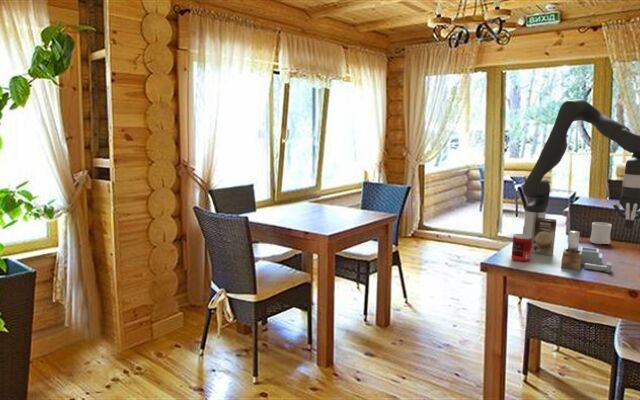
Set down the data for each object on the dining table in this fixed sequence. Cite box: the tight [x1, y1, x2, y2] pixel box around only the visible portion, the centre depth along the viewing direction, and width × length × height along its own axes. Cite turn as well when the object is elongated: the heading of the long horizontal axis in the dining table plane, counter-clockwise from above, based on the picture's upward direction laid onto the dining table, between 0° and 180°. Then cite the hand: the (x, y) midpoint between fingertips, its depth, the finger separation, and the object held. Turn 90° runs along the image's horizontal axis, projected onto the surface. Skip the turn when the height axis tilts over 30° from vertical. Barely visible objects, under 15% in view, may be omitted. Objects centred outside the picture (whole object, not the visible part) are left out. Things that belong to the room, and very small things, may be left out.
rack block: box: [579, 246, 603, 266], centre depth 214 cm, size 10×8×6 cm
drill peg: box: [567, 230, 580, 253], centre depth 208 cm, size 4×4×10 cm
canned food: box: [511, 233, 532, 263], centre depth 217 cm, size 8×8×11 cm
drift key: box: [584, 261, 613, 274], centre depth 204 cm, size 10×4×3 cm, turn 60°
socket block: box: [560, 247, 582, 272], centre depth 209 cm, size 7×10×7 cm
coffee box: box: [531, 217, 557, 256], centre depth 229 cm, size 9×6×16 cm
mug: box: [589, 221, 613, 245], centre depth 252 cm, size 12×9×10 cm
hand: (628, 228), depth 197 cm, fingers closed
